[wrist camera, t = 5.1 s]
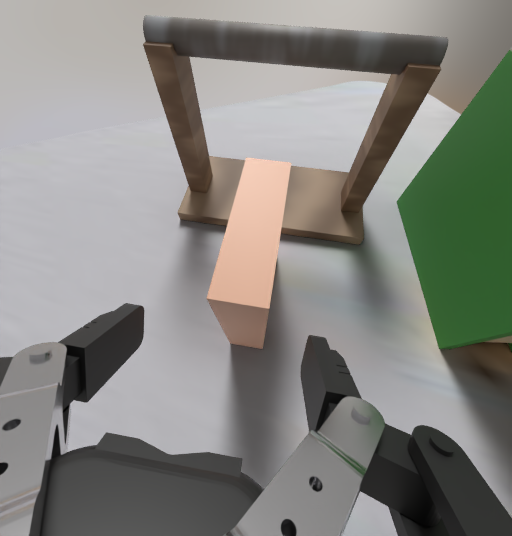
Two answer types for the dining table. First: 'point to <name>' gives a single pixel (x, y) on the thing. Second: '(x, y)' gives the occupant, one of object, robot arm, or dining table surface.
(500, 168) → the hardback book
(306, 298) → the dining table surface
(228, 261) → the pink c-shaped hook
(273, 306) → the dining table surface
